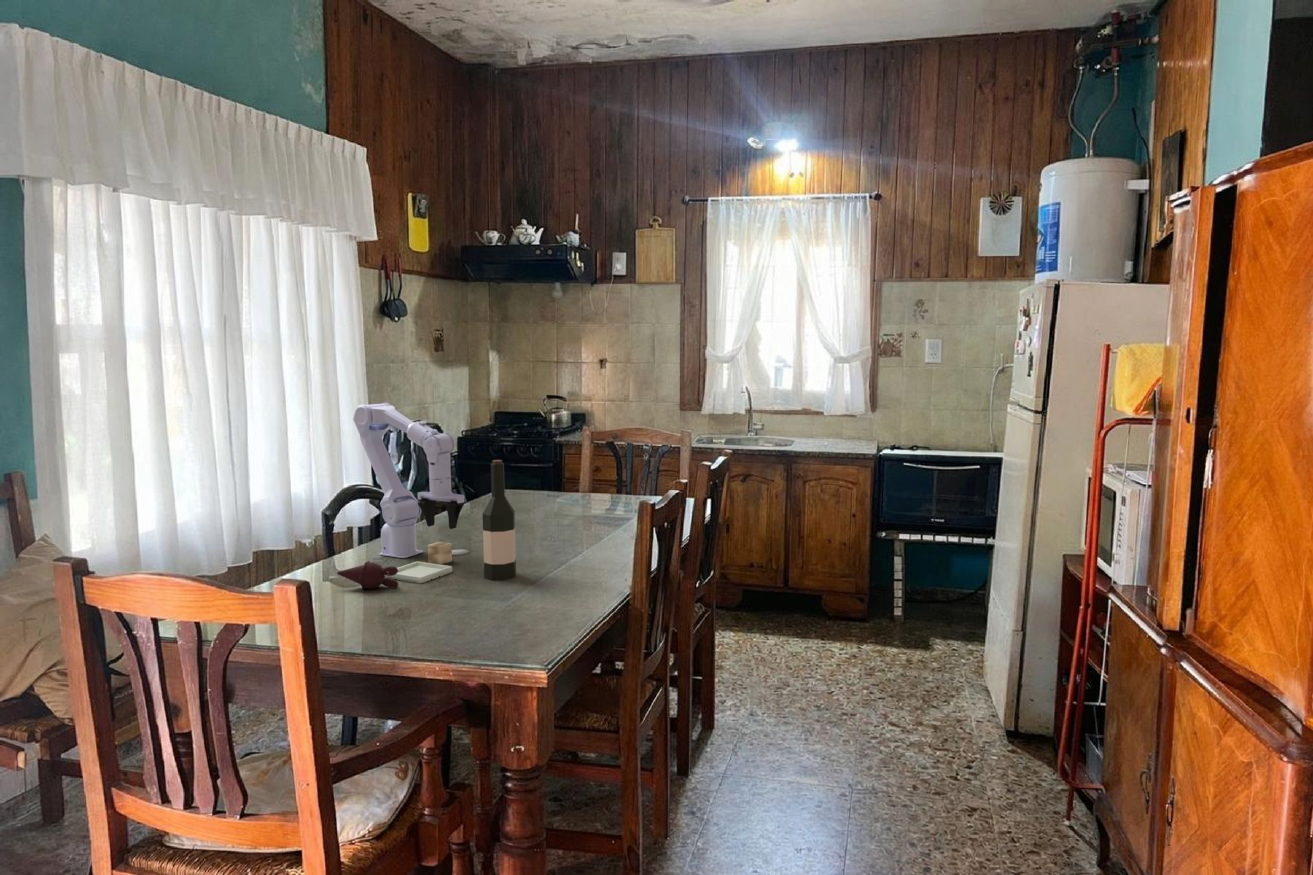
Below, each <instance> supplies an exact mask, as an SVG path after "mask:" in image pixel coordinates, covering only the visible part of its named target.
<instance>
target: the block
mask: <svg viewBox="0 0 1313 875" xmlns="http://www.w3.org/2000/svg"><path fill="white" fill-rule="evenodd" d="M452 546H453V544H452V543H451V542H445V541H443V542H442V541H436V542H433V543H431V544H427V561H428V562H427V563H432V564H439V565H445V564H447V563H450V562H452V561H453V555H452V550H453V547H452ZM444 563H445V564H444Z"/></svg>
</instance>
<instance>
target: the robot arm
mask: <svg viewBox="0 0 1313 875" xmlns="http://www.w3.org/2000/svg"><path fill="white" fill-rule="evenodd" d="M354 411H355V412H354V414H353V417H352V418H353V419H352V420H353V422H354V424H355V427H356V429H357V431H358V434H359V437H360V442H361V444H362V447H363V448H364V451H365V453H366V456H367V458H368V460H369V462H370V464H371V468H372V469H373V472H374V474H375V476H376V478H377V480H378V483H379V485H380V488H381V490H382V492H383V494H384V495H383V497H382V499H381V501H380V503H379V506H380V507H381V513H382V518H383V520H384V522H385V523H384V525H383V526H382V528H381V530H380V544H381V546H380V548H381V550H380V551H381V552H379V555H380V556H385V557H392V558H400V559H406V558H409V557H410V558H411V557H412V556H416V555H419V554H422V553H424V550H421V549H418V548H417V524H416V523H418V519H419V518H420V516H421V514H423V517H424V519H425V522H426V525H427V527H432V526H435V521H436V517H435V516H436V514H435V512H436V506H437V502H448V503H445V504H444V506H445V509H446V512H447V516H448V517H447V518H448V527H449V528H448V529H450V530H453V529H456V528H457V524H458V521H459V518H460V514H461V512H462V509H463V507H464V506H465V495H464V494H459V493H454V492H453V491H452V475H451V473H452V472H451V471H452V470H451V453H453V452H454V450H455V449H454V448H455V440H454V439H453V437H452V435H450V434H449V433H448V432H442V433H441V432H439V431H438V430H437V429H435V428H434V429H433V428H432V427H431V426H428V425H427V422H425V421H423V420H422V421H412V420H410V419H409V418H408V417H406V416H405V415H403V414H402V413H401V412H399V411H398V410H397V409H396V407H395V406H394V405H392V404H390V403H388V402H382V403H374V404H359V405H358V406H357V407H356V408H355V410H354ZM390 426H391V427H394V428H396V429H398V430H400V431H402V432H403V433H406V437H407V439H409V440H410V441H411V442H413V443H414V444H416V445H418V446H419V447H421V448H423V452H424V454H425V455H426V460H427V462H428V476H429V477H428V479H429V480H428V481H429V491H420V492H419V491H418V492H417V498H416V497H415V495H414V493H413V492H412V491H410V490H409V489H407V488H405V487H404V486H403V484H402V482H401V479H400V476H399V475H398V472H397V470H396V468H395V465H394V464H393V463H394V462H393V461H392V459H391V457H390V455H389V452H388V449H387V447H386V445H385V442H384V441H383V436H384V435H385V434H386V433H387V432H388V430H389V428H390ZM419 500H420V501H419Z"/></svg>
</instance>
